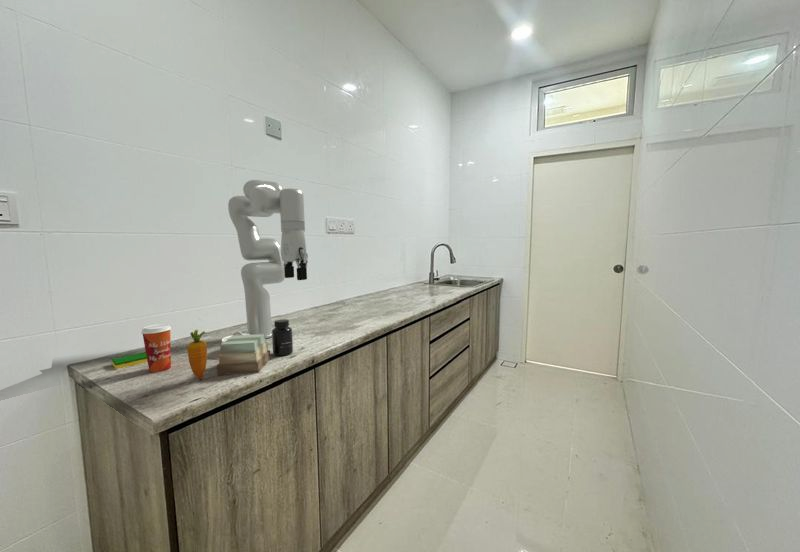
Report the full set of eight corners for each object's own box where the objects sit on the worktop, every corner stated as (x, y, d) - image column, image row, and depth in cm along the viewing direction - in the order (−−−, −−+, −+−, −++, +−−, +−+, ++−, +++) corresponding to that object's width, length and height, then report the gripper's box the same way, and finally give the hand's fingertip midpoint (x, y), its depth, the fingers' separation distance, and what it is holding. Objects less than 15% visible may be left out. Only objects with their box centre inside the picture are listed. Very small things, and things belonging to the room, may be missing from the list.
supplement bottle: (286, 357, 112) (284, 323, 111) (269, 356, 114) (266, 322, 112) (296, 350, 119) (295, 318, 118) (280, 349, 120) (278, 318, 119)
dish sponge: (112, 365, 109) (111, 358, 109) (161, 354, 119) (161, 348, 119) (115, 371, 104) (115, 363, 104) (167, 359, 115) (166, 352, 115)
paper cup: (151, 375, 99) (147, 330, 97) (140, 370, 103) (136, 327, 101) (179, 367, 105) (175, 324, 104) (168, 362, 109) (164, 322, 108)
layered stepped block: (233, 360, 110) (231, 334, 109) (270, 358, 111) (268, 333, 110) (217, 374, 98) (215, 345, 97) (258, 372, 99) (256, 343, 98)
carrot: (195, 376, 97) (191, 327, 96) (212, 375, 97) (208, 326, 96) (186, 383, 92) (181, 332, 91) (204, 382, 92) (200, 331, 91)
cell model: (216, 357, 114) (215, 338, 113) (229, 346, 126) (227, 329, 125) (247, 355, 116) (245, 336, 115) (256, 344, 127) (255, 328, 127)
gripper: (271, 228, 111) (274, 277, 113) (293, 226, 99) (296, 281, 100) (292, 228, 116) (295, 276, 118) (315, 226, 104) (318, 279, 105)
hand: (295, 278), depth 109 cm, fingers open, 9 cm apart
